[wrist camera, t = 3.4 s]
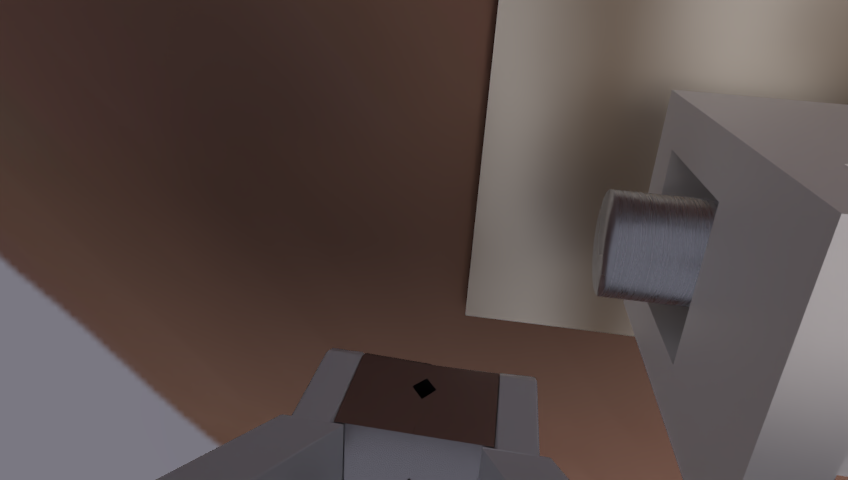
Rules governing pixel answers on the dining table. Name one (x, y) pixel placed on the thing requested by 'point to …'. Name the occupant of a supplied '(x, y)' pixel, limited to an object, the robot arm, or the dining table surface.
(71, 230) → the dining table surface
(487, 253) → the rod holder plate
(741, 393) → the sleeve
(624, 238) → the pipe
